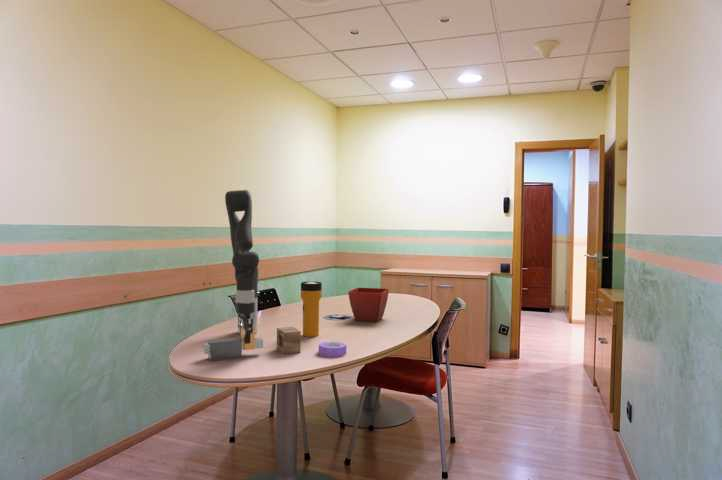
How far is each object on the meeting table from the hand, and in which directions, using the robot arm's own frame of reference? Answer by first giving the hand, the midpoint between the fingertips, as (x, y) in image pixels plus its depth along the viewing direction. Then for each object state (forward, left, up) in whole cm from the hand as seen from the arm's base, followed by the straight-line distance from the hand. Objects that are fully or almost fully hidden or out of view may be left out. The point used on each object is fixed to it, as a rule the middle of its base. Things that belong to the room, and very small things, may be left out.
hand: (245, 341), depth 202 cm
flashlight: (-23, +38, -6) cm, 45 cm away
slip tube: (0, -5, -3) cm, 5 cm away
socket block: (0, +19, -6) cm, 19 cm away
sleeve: (0, -8, -6) cm, 10 cm away
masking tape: (+11, +34, -6) cm, 36 cm away
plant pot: (-47, +83, -6) cm, 96 cm away
